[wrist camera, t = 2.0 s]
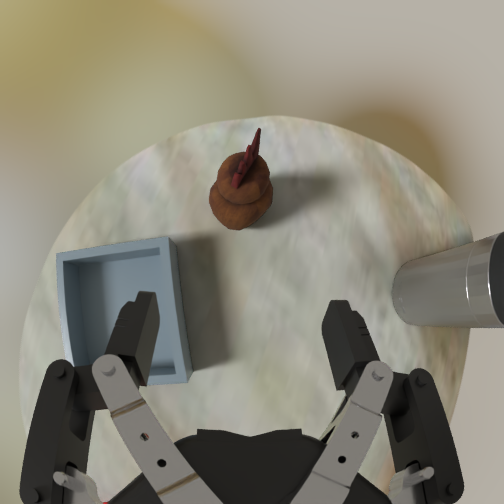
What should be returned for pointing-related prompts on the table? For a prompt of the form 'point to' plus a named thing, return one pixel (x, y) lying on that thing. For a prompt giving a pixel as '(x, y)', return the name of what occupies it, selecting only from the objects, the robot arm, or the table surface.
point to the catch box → (123, 302)
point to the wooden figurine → (242, 188)
